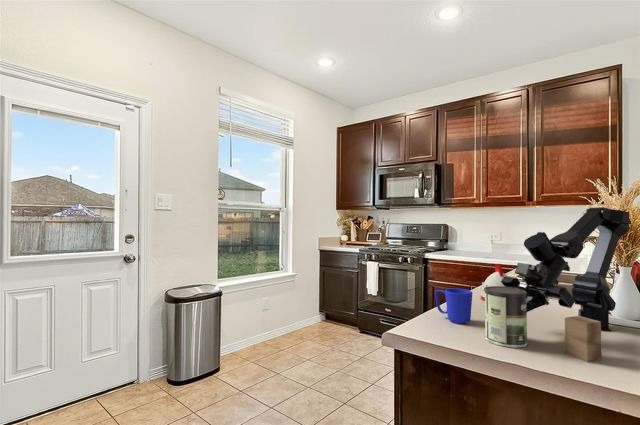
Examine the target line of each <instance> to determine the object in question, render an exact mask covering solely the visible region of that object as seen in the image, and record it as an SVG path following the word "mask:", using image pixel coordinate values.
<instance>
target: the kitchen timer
mask: <svg viewBox="0 0 640 425" xmlns="http://www.w3.org/2000/svg"><path fill="white" fill-rule="evenodd" d="M494 269H495V270H494V271H495V272H493V273H492V274H490V275H489V276H487V278H486V279H485V281H482V282H481V289H480V300H481V301H483V302H485V291H484V288H485V287H490V286H502V287H505V286H504V285H503V284H502V283H501V281H502V279H503V278H504V276H508V275H507V274H506V273H504V270H503V267H502V264H499V263H495V266H494Z"/></svg>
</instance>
